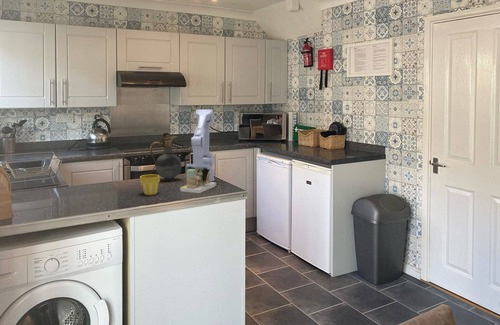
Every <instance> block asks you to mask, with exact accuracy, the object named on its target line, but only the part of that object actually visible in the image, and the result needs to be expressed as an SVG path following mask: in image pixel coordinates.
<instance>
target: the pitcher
mask: <svg viewBox="0 0 500 325" xmlns="http://www.w3.org/2000/svg"><path fill="white" fill-rule="evenodd" d="M160 138H161V140H162V141H153V142H152V143H151V144H150V146H149V151H150V154H151V157H152V159H153V161H154V163H155V164H154V167H153V170H152V172H154V170H156V172H157V175H159V176H160V178H162V182H166V181H167V182H168V181H169V182H174V181H176V177H177V176H179V175H180V173H181V171H182V165H183V164H182V161H181V159H180V157H179V156H178V155H177V154H175V153H173V141H174V139H175V138H176V139H178V136H176V135H175V136H174V135H170V133H168V132H164V133H162V135H161V136H160ZM155 145H160V146H162V147H163V154H161V155H159V157H158V158H155V156H154V153H153V147H154V146H155Z"/></svg>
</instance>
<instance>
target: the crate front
mask: <svg viewBox="0 0 500 325" xmlns="http://www.w3.org/2000/svg"><path fill="white" fill-rule="evenodd" d="M187 169H188V168H187ZM187 169H186V177H189V178H194V177H197V176H196V174H197V168H195V169H188V170H187Z"/></svg>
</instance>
